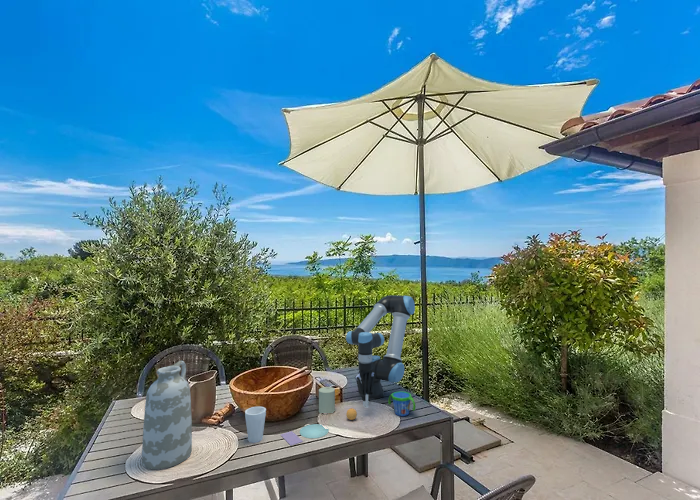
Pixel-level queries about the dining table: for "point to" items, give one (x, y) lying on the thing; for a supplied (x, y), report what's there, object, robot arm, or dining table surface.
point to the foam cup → (255, 423)
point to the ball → (351, 414)
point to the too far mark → (291, 438)
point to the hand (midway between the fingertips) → (365, 406)
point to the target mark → (313, 431)
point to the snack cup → (401, 402)
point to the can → (326, 400)
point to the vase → (167, 420)
